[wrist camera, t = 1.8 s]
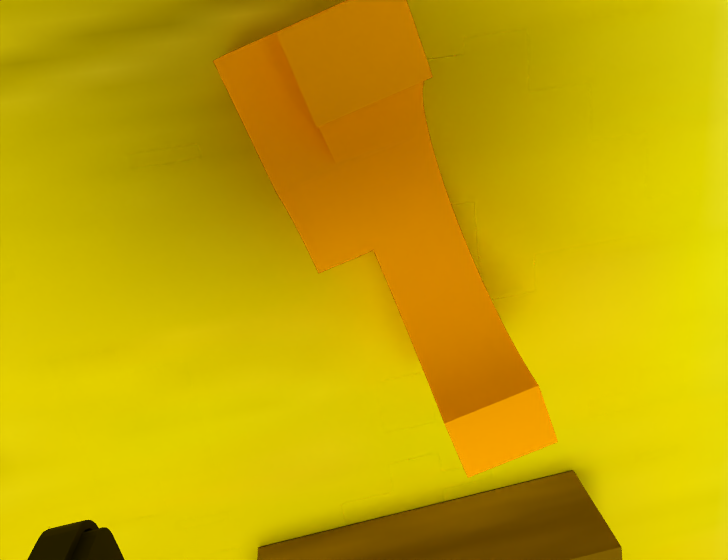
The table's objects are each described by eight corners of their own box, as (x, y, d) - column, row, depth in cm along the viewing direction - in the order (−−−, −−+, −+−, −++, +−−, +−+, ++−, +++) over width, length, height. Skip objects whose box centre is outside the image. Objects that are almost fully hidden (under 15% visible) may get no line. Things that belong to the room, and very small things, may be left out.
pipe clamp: (225, 54, 18) (194, 70, 12) (363, -7, 18) (399, -21, 12) (376, 377, 23) (407, 501, 17) (487, 331, 23) (557, 441, 17)
